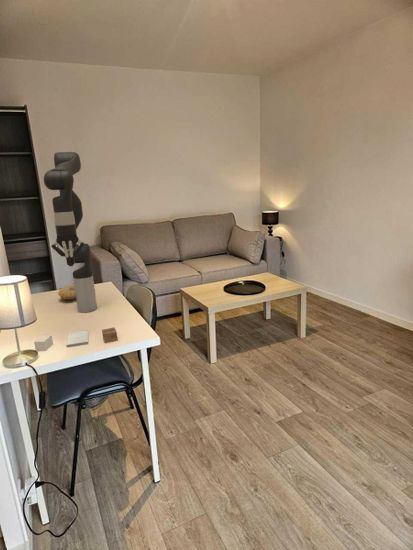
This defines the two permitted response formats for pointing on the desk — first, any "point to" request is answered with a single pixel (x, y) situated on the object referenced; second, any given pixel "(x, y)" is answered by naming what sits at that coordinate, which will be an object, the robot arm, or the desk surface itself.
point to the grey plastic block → (43, 342)
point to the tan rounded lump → (68, 292)
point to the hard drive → (78, 338)
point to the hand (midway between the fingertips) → (71, 265)
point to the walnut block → (109, 335)
